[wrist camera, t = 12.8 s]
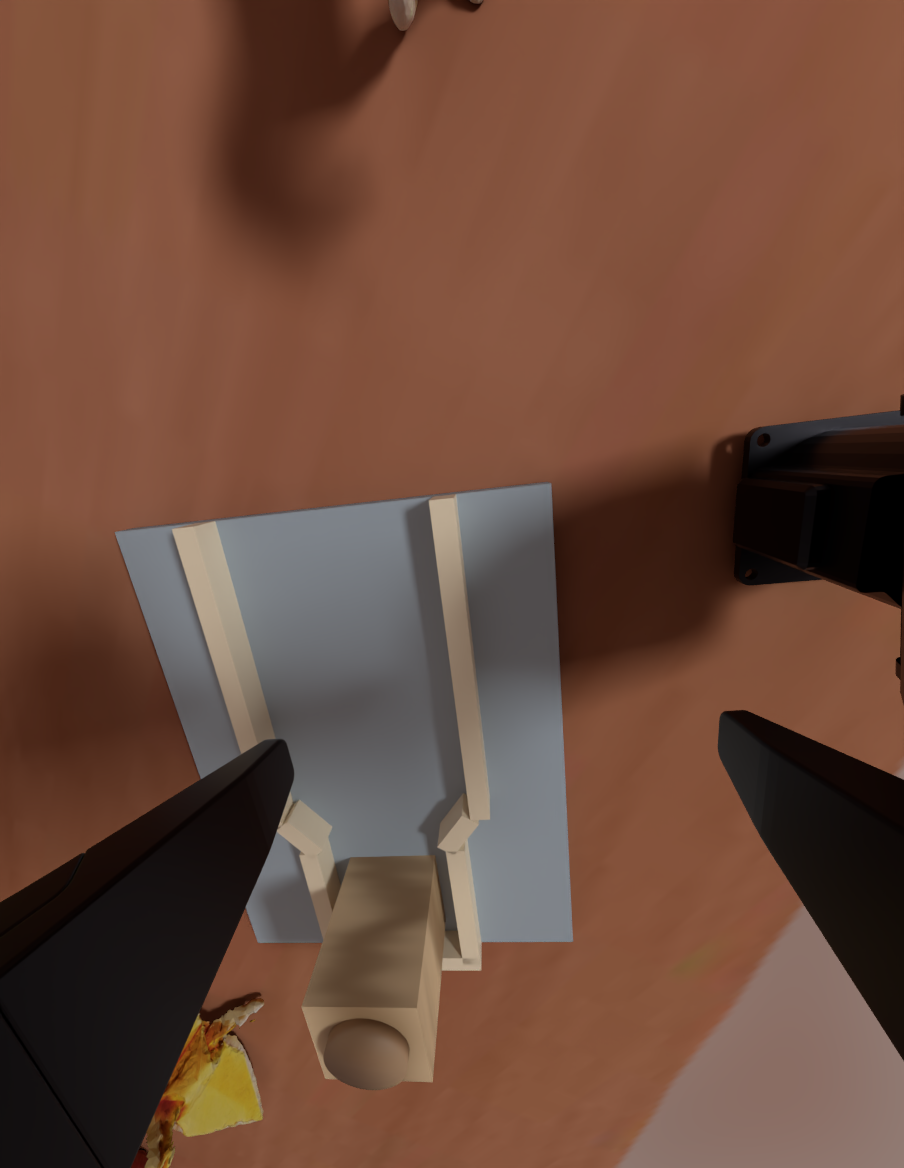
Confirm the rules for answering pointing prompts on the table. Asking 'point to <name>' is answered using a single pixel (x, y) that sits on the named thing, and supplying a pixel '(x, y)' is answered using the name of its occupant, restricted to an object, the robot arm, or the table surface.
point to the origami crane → (206, 1086)
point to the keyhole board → (381, 696)
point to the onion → (140, 1160)
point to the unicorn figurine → (407, 12)
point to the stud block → (380, 974)
